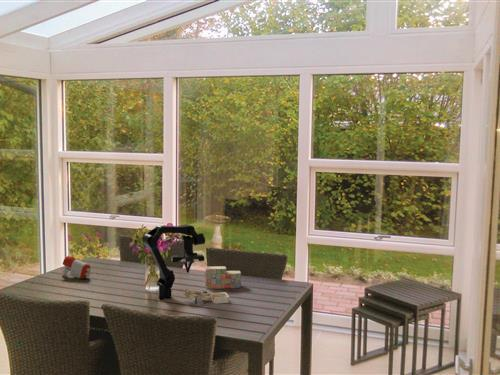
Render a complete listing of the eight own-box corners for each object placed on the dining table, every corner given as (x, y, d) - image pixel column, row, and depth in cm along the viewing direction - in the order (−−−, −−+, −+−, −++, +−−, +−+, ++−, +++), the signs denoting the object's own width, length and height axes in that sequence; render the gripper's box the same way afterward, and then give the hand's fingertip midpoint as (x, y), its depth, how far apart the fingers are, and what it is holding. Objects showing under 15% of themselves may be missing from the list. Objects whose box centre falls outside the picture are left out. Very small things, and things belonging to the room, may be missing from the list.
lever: (186, 297, 282) (187, 292, 281) (182, 290, 295) (183, 285, 294) (211, 301, 286) (212, 295, 286) (206, 293, 299) (207, 288, 299)
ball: (219, 295, 288) (220, 301, 289) (217, 293, 291) (218, 299, 292) (213, 296, 287) (214, 302, 288) (211, 294, 290) (212, 300, 291)
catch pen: (214, 303, 285) (214, 297, 285) (211, 298, 293) (211, 293, 293) (229, 302, 287) (229, 296, 287) (225, 297, 296) (225, 292, 295)
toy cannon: (83, 287, 323) (88, 266, 320) (58, 275, 329) (62, 255, 327) (90, 284, 329) (94, 263, 326) (65, 273, 335) (69, 253, 332)
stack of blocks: (239, 285, 321) (240, 265, 320) (240, 288, 315) (241, 268, 314) (205, 285, 318) (205, 266, 317) (205, 288, 312) (205, 268, 311)
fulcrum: (195, 305, 282) (195, 297, 281) (192, 299, 291) (192, 292, 290) (204, 304, 283) (204, 296, 283) (200, 299, 292) (201, 291, 291)
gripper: (173, 250, 290) (173, 277, 292) (206, 248, 295) (206, 275, 297) (171, 245, 301) (170, 272, 302) (202, 244, 306) (202, 270, 307)
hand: (187, 272), depth 302 cm, fingers closed
